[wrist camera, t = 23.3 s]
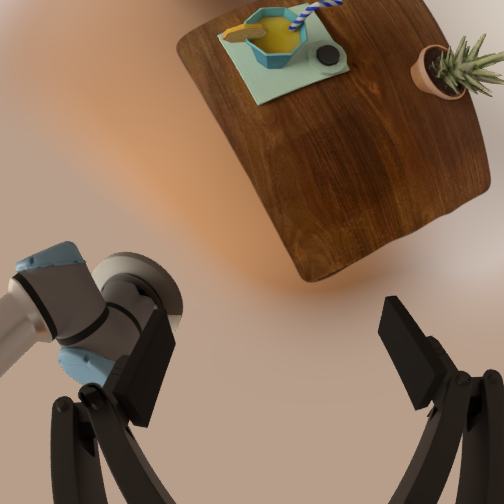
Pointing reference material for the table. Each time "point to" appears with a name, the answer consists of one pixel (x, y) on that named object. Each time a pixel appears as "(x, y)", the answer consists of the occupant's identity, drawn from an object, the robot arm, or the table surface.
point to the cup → (275, 33)
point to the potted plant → (454, 70)
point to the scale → (294, 71)
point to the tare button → (328, 54)
